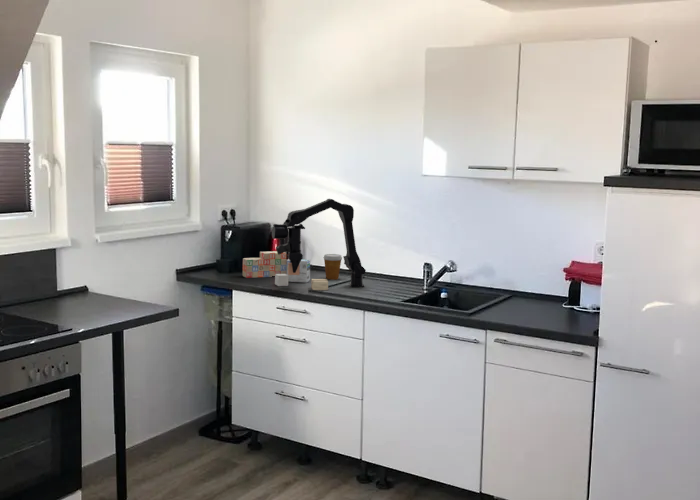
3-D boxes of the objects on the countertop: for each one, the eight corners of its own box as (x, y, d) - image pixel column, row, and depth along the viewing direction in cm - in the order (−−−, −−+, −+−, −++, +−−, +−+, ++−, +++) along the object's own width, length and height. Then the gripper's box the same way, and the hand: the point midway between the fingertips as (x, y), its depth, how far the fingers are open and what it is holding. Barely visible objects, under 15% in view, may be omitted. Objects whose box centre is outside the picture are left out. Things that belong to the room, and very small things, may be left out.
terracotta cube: (287, 273, 361) (287, 262, 360) (298, 273, 362) (298, 262, 361) (288, 274, 356) (288, 264, 355) (299, 274, 357) (299, 264, 356)
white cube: (274, 284, 368) (275, 274, 367) (284, 284, 370) (284, 273, 369) (278, 286, 363) (278, 275, 363) (288, 285, 365) (288, 275, 365)
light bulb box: (310, 280, 381) (310, 259, 380) (307, 282, 375) (307, 261, 373) (289, 279, 383) (289, 257, 382) (285, 281, 377) (286, 259, 375)
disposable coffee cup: (335, 276, 395) (336, 253, 394) (345, 279, 387) (345, 256, 385) (319, 277, 390) (320, 254, 389) (328, 280, 382) (329, 256, 381)
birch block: (311, 287, 363) (311, 279, 362) (325, 287, 364) (326, 279, 363) (313, 290, 356) (313, 281, 355) (327, 290, 357) (328, 281, 356)
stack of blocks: (246, 278, 383) (246, 253, 382) (242, 276, 389) (242, 252, 387) (286, 276, 393) (286, 252, 391) (281, 274, 398) (282, 250, 397)
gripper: (275, 236, 364) (275, 268, 366) (278, 240, 346) (277, 275, 348) (299, 236, 366) (298, 268, 368) (303, 241, 348) (302, 275, 350)
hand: (293, 271), depth 359 cm, fingers closed on terracotta cube, 5 cm apart
